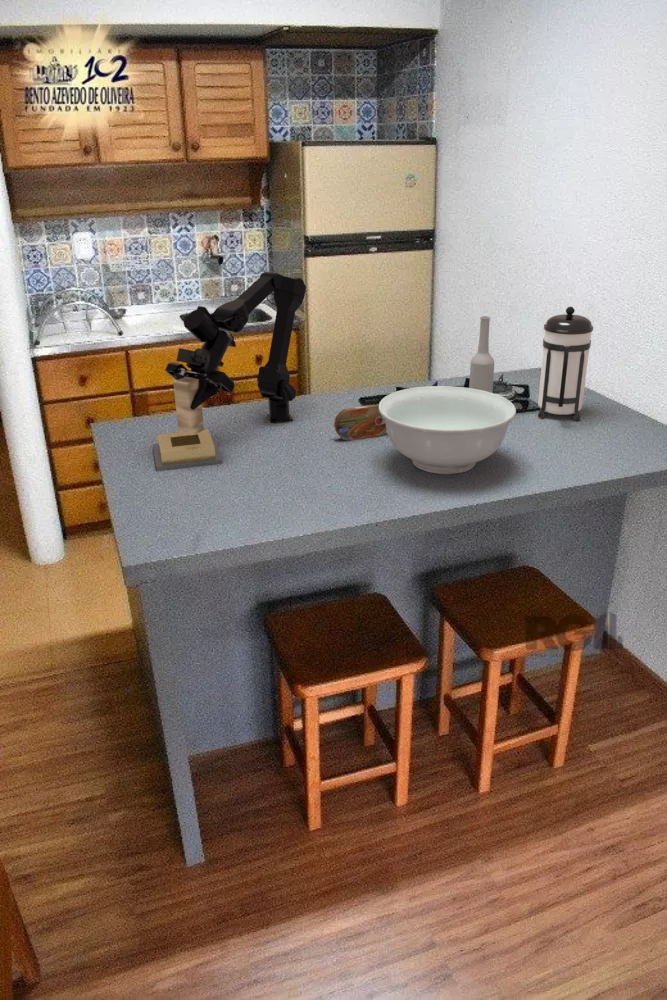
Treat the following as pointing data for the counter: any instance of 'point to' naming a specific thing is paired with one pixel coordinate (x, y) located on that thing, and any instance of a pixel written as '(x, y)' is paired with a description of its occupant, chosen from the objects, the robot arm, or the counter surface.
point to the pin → (187, 406)
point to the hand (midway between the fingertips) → (184, 407)
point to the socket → (186, 450)
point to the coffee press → (564, 364)
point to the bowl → (446, 425)
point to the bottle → (482, 361)
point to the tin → (360, 423)
